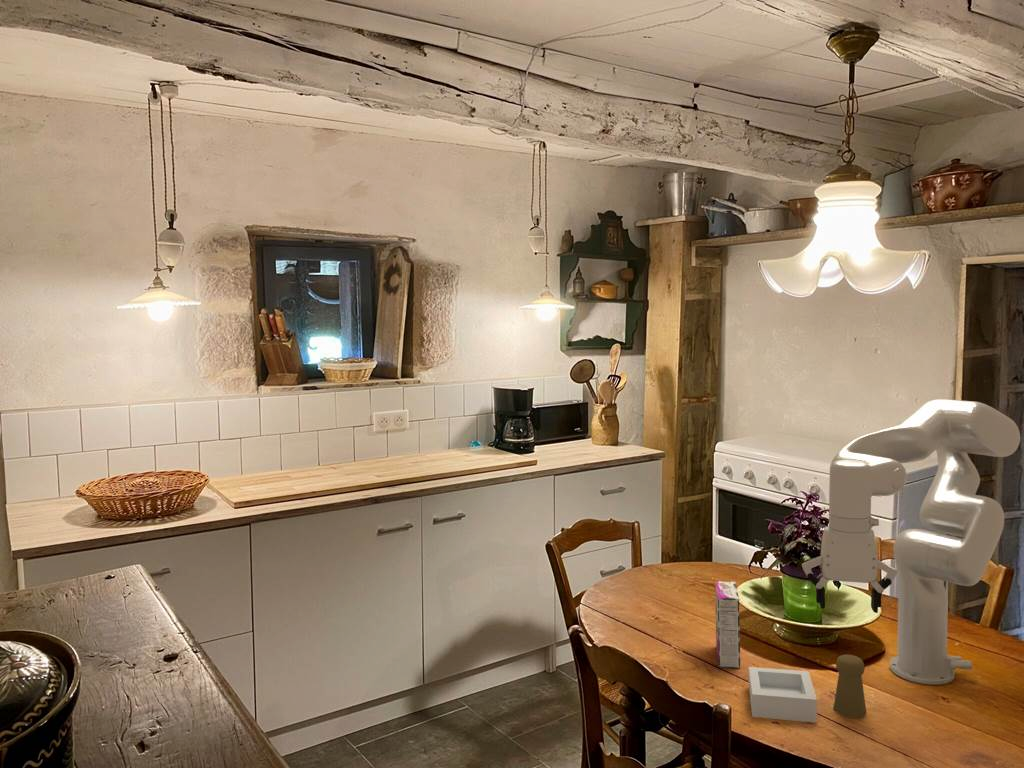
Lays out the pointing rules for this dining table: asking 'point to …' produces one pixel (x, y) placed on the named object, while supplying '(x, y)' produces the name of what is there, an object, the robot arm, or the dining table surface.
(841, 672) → the cork
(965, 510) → the robot arm
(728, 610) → the candy bar box
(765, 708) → the open box
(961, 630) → the dining table surface
